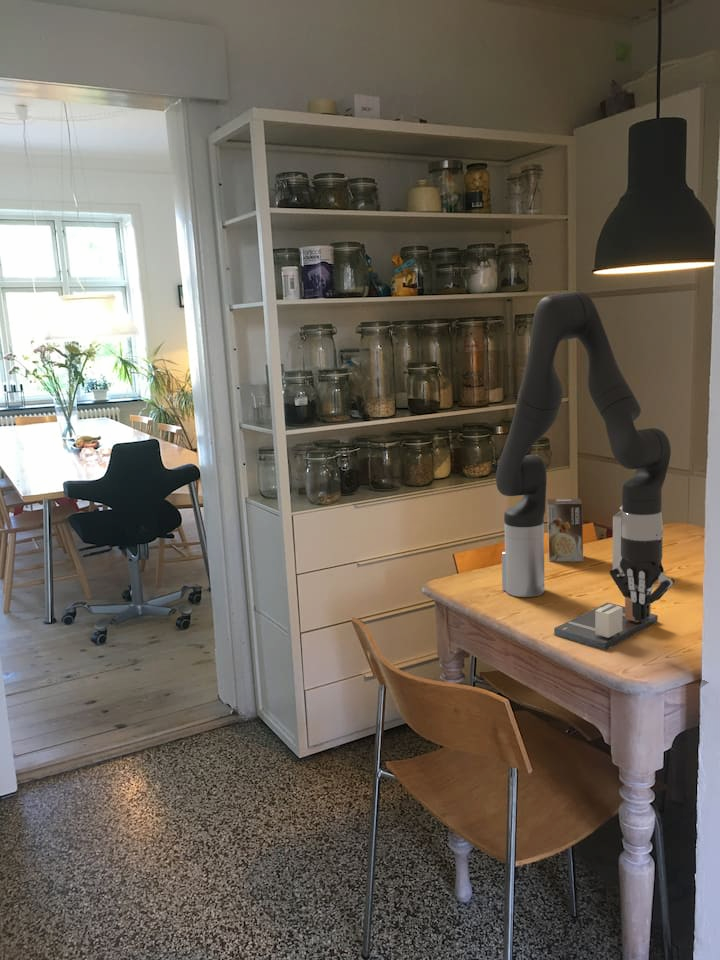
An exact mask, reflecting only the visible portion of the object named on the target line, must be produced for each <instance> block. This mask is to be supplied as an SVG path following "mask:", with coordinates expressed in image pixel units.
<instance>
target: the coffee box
mask: <svg viewBox="0 0 720 960" xmlns="http://www.w3.org/2000/svg"><path fill="white" fill-rule="evenodd" d="M546 501H547V502H546V503H547V534H548V535H547V540H548V541H547V542H548V543H547V544H548V561H549V562H571V563H572V562H574V563H575V562H576V563H577V562H580V563H581V562H582V563H583V562H584V538H583V537H584V532H583V531H584V529H583V526H584V525H583V501H582V500H581V498H551V499H550V498H547V500H546Z"/></svg>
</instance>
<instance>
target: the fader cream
mask: <svg viewBox="0 0 720 960" xmlns="http://www.w3.org/2000/svg"><path fill="white" fill-rule="evenodd" d="M612 604H613V603H612ZM612 604H608V605H606V606H604V607H602V608H600V609H597V610H595V634H597V635H601V636H604V637H607V638H609V637H611V636H613V635H615V634H617V633H619V632H620V631H622V607H620V606H621V605H620V606H616V605H617V604H616V605H612Z"/></svg>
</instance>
